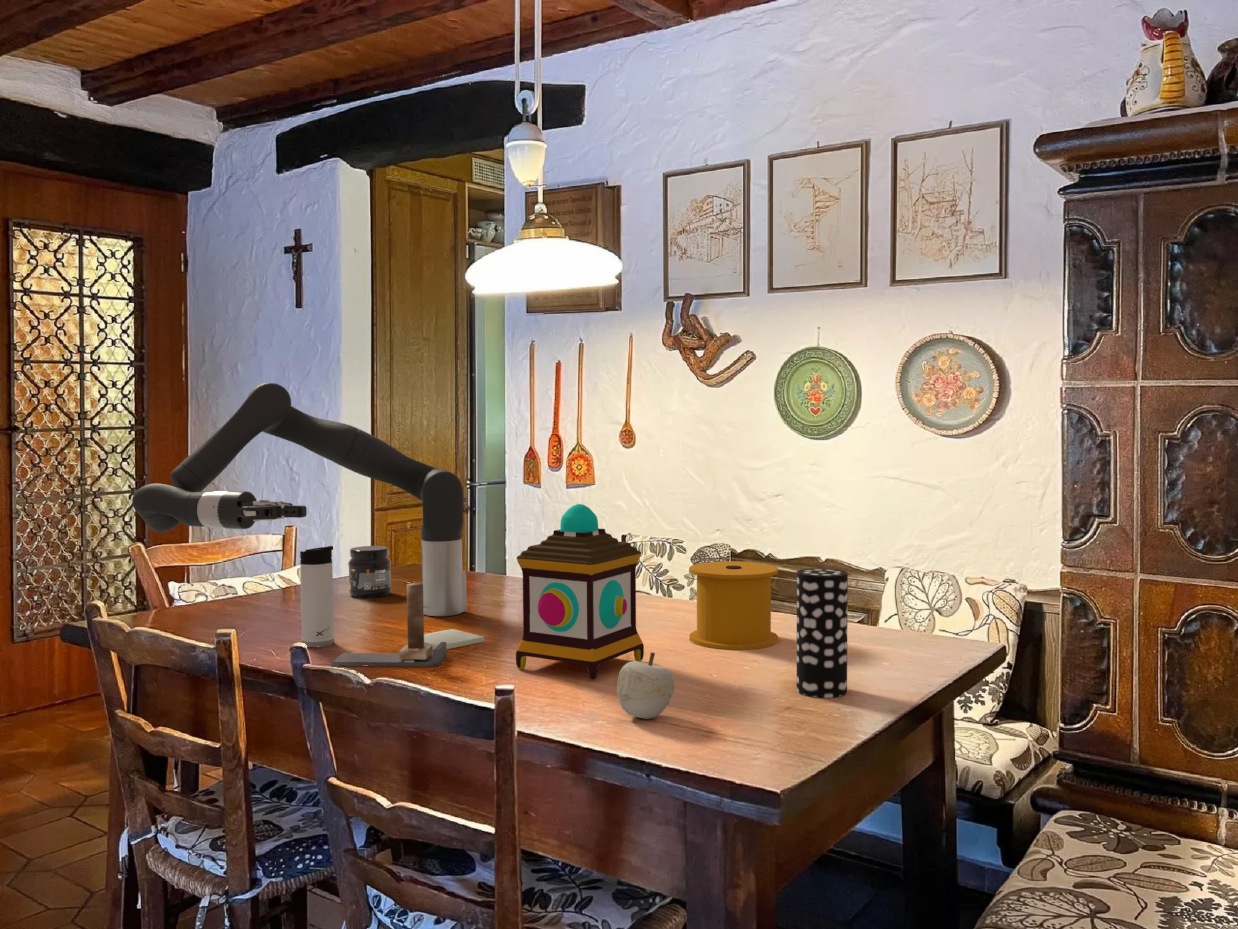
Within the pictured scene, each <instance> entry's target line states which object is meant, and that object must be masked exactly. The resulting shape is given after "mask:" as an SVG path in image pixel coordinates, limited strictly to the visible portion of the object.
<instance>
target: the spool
mask: <svg viewBox="0 0 1238 929" xmlns="http://www.w3.org/2000/svg"><path fill="white" fill-rule="evenodd" d="M688 571H689V573H690V574H693V575H695V576H696V630H694V631H692V632H690V634H689V641H690V642H691V643H693V644H694V645H698V646H701V647H705V648H710V649H718V650H719V649H721V650H753V649H754V650H755V649H761V648H762V649H763V648H766V647H767V648H768V647H771V646H773V645H775V644H777V643H778V641H779V636H778V634H776V632H773V631H771V629H772V627H771V626H772V624H771V623H772V622H771V620H772V618H771V617H772V612H771V611H772V604H771V603H772V599H771V598H772V597H771V595H772V594H771V593H772V592H771V591H772V584H771V583H772V576H775V575H777V574H778V573H779V568H778V566H775V565H774V564H769V563H763V562H755V561H753V562H752V561H738V560H737V561H736V560H731V561H730V560H729V561H728V560H727V561H725V560H724V561H721V560H720V561H709V562H701V563H700V562H699V563H695V564H692V565H690V566H689V570H688Z"/></svg>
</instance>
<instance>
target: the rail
mask: <svg viewBox="0 0 1238 929" xmlns="http://www.w3.org/2000/svg"><path fill="white" fill-rule="evenodd" d="M447 650H448V649H446V642H441V643H440V644H439V645H438V646H437V647H436V648H435V649H432V654H431V655H430V656H429V657H428V658H427V659H400V654H399V652H343V653H341V654H340V655H338V656H337V657H336V658H335V659H333V660H332V661H331V667H340V666H339V665H345V666H344V667H364V666H363V665H368V666H367V667H397V668H398V667H406V668H407V667H409V668H410V667H411V668H412V667H413V668H414V667H417V668H419V667H422V668H423V667H425V668H426V667H427V668H428V667H433V668H438V667H439V666H441V664H442V663H443V662H444V661H445V660H446V659H447V657H448V656H447V655H448V654H447ZM337 665H338V666H337Z"/></svg>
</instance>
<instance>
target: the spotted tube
mask: <svg viewBox="0 0 1238 929" xmlns="http://www.w3.org/2000/svg"><path fill="white" fill-rule="evenodd" d="M848 575H849V572H848V571H846V570H842V569H835V568H820V567H818V568H802V569H799V570H797V571H796V692H797V693H799V694H800V695H802V696H807V697H812V698H820V699H828V698H829V699H832V698H833V699H834V698H838V697H839V698H840V697H843V696H845V695H847V694H848V609H849V608H848V602H849V601H848V599H849V598H848V588H849V586H848V585H849V584H848V582H849V581H848V580H849V578H848V577H849V576H848Z"/></svg>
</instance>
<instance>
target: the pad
mask: <svg viewBox="0 0 1238 929" xmlns="http://www.w3.org/2000/svg"><path fill="white" fill-rule="evenodd" d="M441 642H446V649H447V650H450V649H456V648H460V647H465V646H469V645H470V646H471V645H475V644H478V643H479V644H481V643H484V642H485V636H482V635H479V634H474V633H469V632H466V631H462V630H458V629H454V628H450V629H444V630H439V631H435V632H429V633H424V645H432V650H434V649H435V648H436V647H437V646H438V645H439V644H440V643H441Z"/></svg>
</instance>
